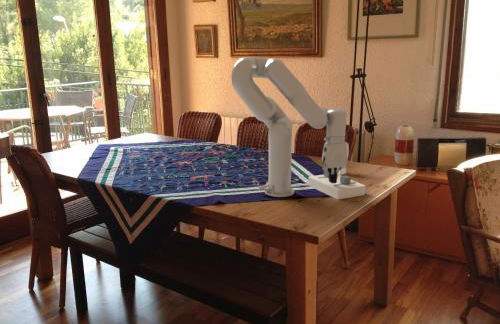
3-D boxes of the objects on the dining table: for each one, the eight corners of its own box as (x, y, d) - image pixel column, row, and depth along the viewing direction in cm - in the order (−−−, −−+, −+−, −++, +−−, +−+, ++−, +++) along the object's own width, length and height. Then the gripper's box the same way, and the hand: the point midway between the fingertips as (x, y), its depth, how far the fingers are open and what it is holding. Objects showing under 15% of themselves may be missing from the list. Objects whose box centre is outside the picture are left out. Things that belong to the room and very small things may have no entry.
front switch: (344, 184, 191) (344, 178, 191) (339, 182, 194) (340, 176, 193) (350, 183, 193) (350, 177, 192) (345, 181, 195) (346, 175, 195)
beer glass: (347, 175, 220) (349, 145, 217) (332, 174, 222) (334, 144, 218) (347, 171, 227) (348, 142, 223) (333, 171, 228) (334, 141, 225)
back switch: (327, 177, 202) (328, 171, 201) (323, 175, 205) (323, 169, 204) (333, 176, 203) (333, 170, 202) (329, 174, 206) (329, 168, 205)
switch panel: (337, 199, 186) (338, 189, 185) (308, 185, 205) (308, 176, 204) (364, 194, 192) (365, 185, 191) (333, 181, 211) (334, 172, 210)
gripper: (325, 142, 180) (323, 187, 184) (355, 139, 186) (352, 182, 191) (314, 139, 186) (312, 182, 191) (344, 136, 193) (341, 178, 197)
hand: (332, 182), depth 191 cm, fingers closed
